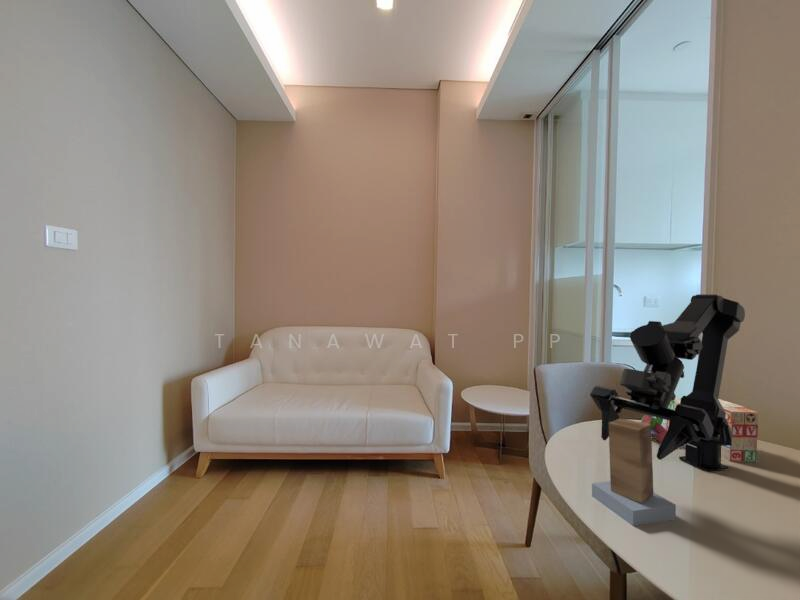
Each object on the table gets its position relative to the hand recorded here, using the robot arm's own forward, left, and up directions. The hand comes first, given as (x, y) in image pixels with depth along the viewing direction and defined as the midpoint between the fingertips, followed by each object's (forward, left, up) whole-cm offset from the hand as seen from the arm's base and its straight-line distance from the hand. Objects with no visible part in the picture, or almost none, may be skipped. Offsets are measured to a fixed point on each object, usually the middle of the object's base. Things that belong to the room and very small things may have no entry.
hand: (629, 448), depth 63 cm
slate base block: (-1, 0, -12) cm, 12 cm away
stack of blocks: (-47, -20, -11) cm, 52 cm away
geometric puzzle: (-35, -25, -11) cm, 44 cm away
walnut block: (-1, 0, -8) cm, 9 cm away
